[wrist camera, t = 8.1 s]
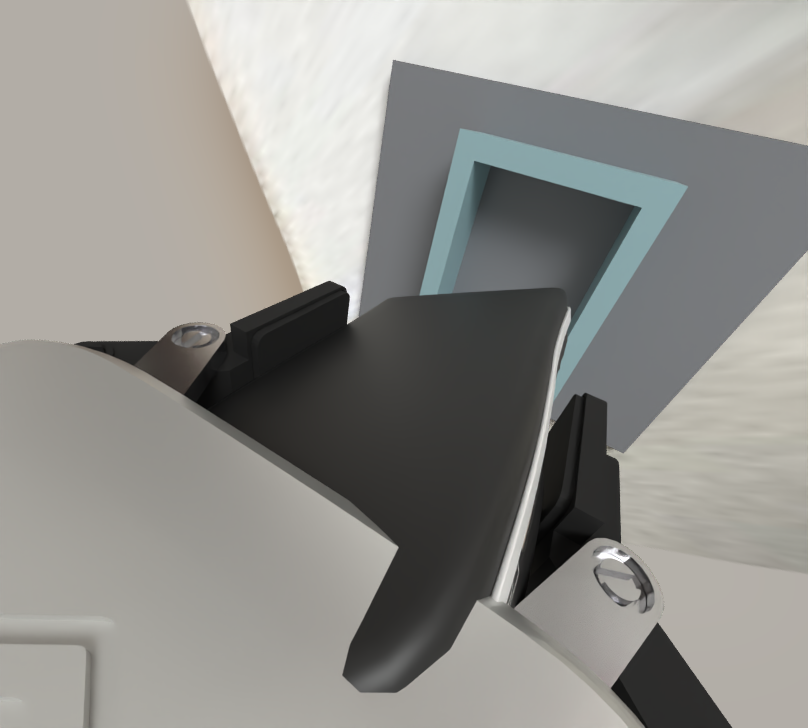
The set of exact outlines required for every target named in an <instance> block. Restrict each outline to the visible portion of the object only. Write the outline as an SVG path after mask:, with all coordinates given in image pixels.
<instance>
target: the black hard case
mask: <svg viewBox="0 0 808 728" xmlns="http://www.w3.org/2000/svg"><path fill="white" fill-rule="evenodd" d="M570 322H571V309H570V307H568V301H567V295H566V293H565V291H564V290H563V289H561V288H534V289H515V290H498V291H481V292H463V293H448V294H433V295H418V296H405V297H393V298H388V299H386V300H385V301H383V302H382V303H380V304H379V305H377V306H375V307H374V308H372V309H371V310H369V311H368V312H366V313H365V314H363V315H361V316H360V317H358V318H357V319H355V320H354V321H352V322H350V323H349V324H347V325H345V326H344V327H342V328H341V329H339V330H337V331H335V332H334V333H332V334H330V335H329V336H327V337H325V338H323V339H322V340H320V341H318V342H317V343H315V344H313V345H311V346H310V347H308V348H306V349H305V350H303V351H301V352H300V353H298V354H296V355H295V356H293V357H291V358H290V359H288V360H286V361H285V362H283V363H281V364H280V365H278V366H276V367H275V368H273V369H271V370H270V371H268V372H266V373H265V374H263V375H261V376H260V377H258V378H256V379H255V380H253V381H252V382H250V383H248V384H247V385H245V386H243V387H242V388H240V389H239V390H237V391H235V392H234V393H232V394H231V395H229V396H227V397H226V398H224V399H223V400H221V401H219V402H218V403H216V404H215V405H213V406H211V407H210V408H208V409H207V410H208V411H209V412H211V413H212V414H214V415H216V416H217V417H219V418H220V419H222V420H224V421H225V422H227V423H228V424H230V425H231V426H233V427H235V428H236V429H238V430H239V431H241V432H242V433H244V434H246V435H247V436H249V437H250V438H252V439H254V440H255V441H257V442H258V443H260V444H261V445H263V446H265V447H266V448H268V449H269V450H271V451H272V452H274V453H275V454H277V455H279V456H280V457H282V458H283V459H285V460H286V461H288V462H290V463H291V464H293V465H294V466H296V467H297V468H299V469H300V470H302V471H304V472H305V473H307V474H308V475H310V476H311V477H313V478H315V479H316V480H318V481H319V482H321V483H322V484H324V485H325V486H327V487H329V488H330V489H332V490H333V491H335V492H336V493H338V494H339V495H341V496H343V497H344V498H346V499H347V500H349V501H350V502H351V503H352V504H353V505H355V506H356V507H357V508H358V509H359V510H360V511H361V512H362V513H364V514H365V515H366V516H367V517H368V518H369V519H370V520H371V521H372V522H374V523H375V524H376V525H377V526H378V527H379V528H380V529H381V530H382V531H383V532H384V533H385V534H386V535H387V536H388V537H389V538H390V539H391V540H392V541H393V542H394V543H395V544H396V545H397V546H398V547H399V548H398V550H397V552H396V554H395V556H394V558H393V560H392V562H391V564H390V566H389V568H388V570H387V572H386V574H385V576H384V578H383V580H382V582H381V584H380V586H379V588H378V590H377V592H376V594H375V596H374V598H373V600H372V602H371V604H370V606H369V608H368V610H367V612H366V614H365V616H364V618H363V620H362V622H361V624H360V626H359V628H358V630H357V632H356V634H355V635H354V637H353V639H352V641H351V643H350V646H349V650H348V654H347V658H346V662H345V666H344V670H343V674H342V676H343V677H344V678H345V679H346V680H347V681H348V682H349V683H351V684H352V685H353V686H354V687H355V688H356V689H357V690H358V691H359V692H360V693H397V692H399V691H400V690H402V689H403V688H405V687H406V686H408V685H409V684H410V683H411V682H412V681H414V680H415V679H416V678H417V677H418V676H419V675H421V674H422V673H423V672H424V671H425V670H427V669H428V668H429V667H430V666H431V665H433V664H434V663H435V662H436V661H437V660H438V659H440V658H441V657H442V656H443V655H444V654H446V653H447V652H448V651H449V650H450V649H451V647H452V646H453V644H454V642H455V640H456V638H457V636H458V634H459V633H460V631H461V629H462V627H463V625H464V623H465V622H466V620H467V618H468V616H469V614H470V612H471V611H472V609H473V607H474V605H475V603H476V601H477V600H481V599H483V598H486V597H489V596H491V597H492V598H493V599H494V600H495V601H496V602H501V601H503V602H504V603H506V604H507V605H509V606H510V607H512V608H513V609H514V608H515V607H516V606H517V605H518V604H519V603H520V602H521V601H523V600H524V599H525V595H526V591H527V586H528V581H529V577H530V572H531V568H532V563H533V557H534V552H535V546H536V541H537V536H538V530H539V524H540V518H541V512H542V504H543V496H544V491H543V463H544V457H545V450H546V444H547V437H548V431H549V425H550V419H551V411H552V406H553V399H554V391H555V384H556V378H557V374H558V371H559V370H560V364H561V361H562V358H563V356H564V352H565V347H566V344H567V329H568V327H569V324H570Z"/></svg>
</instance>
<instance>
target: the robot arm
mask: <svg viewBox="0 0 808 728" xmlns="http://www.w3.org/2000/svg"><path fill="white" fill-rule="evenodd" d="M349 300H350V296H349V294H348V293H347V291H346V288H345V287H343V286H341V285H338V284H336V283H334V282H331V281H327V282H325V283H323V284H320V285H318V286H316V287H314V288H311V289H309V290H307V291H304V292H302V293H300V294H298V295H295V296H293V297H291V298H288V299H287V300H284V301H282V302H279V303H277V304H275V305H272V306H270V307H268V308H265V309H263V310H261V311H259V312H256V313H254V314H252V315H249V316H247V317H245V318H243V319H240V320H238V321H236V322H233V323H231V324H230V326H231V332H230V333H228V334H226V335H225V331H224V330H223V329H222V328H221V327H219V326H217V325H215V324H210V323H203V322H197V323H196V322H195V323H187V324H183V325H180V326H177V327H175V328H173V329H172V330H170V331H169V332H167V334H166V335H164V336H163V337H162V338H161V339H160V340H159V341H124V342H123V341H122V342H121V341H120V342H119V341H118V342H117V341H108V342H107V341H103V342H102V341H101V342H100V341H99V342H98V341H97V342H91V341H88V342H80V343H77V344H74V345H73V344H68V343H63V342H57V341H47V340H19V341H13V342H8V343H3V344H0V728H732V727H731V725H730V724H729V723H728V721H727V720H726V718H725V717H724V716H723V714H722V713H721V711H720V710H719V708H718V707H717V706H716V704H715V703H714V702H713V700H712V699H711V697H710V696H709V695H708V693H707V691H706V690H705V689H704V687H703V686H702V685H701V683H700V682H699V680H698V679H697V677H696V676H695V674H694V673H693V672H692V670H691V669H690V668H689V666H688V665H687V663H686V662H685V660H684V659H683V658H682V656H681V655H680V653H679V652H678V650H677V649H676V648H675V646H674V645H673V643H672V642H671V641H670V639H669V638H668V636H667V635H666V633H665V632H664V631H663V629H662V628H661V626H660V625H659V624H658V621H659V619H660V618H661V616H662V613H663V610H664V601H663V594H662V592H661V589H660V586H659V583H658V582H657V580H656V578H655V577H654V575H653V573H652V572H651V570H650V569H649V567H648V566H647V565H646V564H645V563H644V562H643V561H642V559H641V558H640V557H639V556H637V555H636V554H635V553H634V552H633V551H631V550H630V549H629V548H627V547H626V546H624V545H622V544H621V523H620V480H619V462H618V461H617V459H615V458H613V457H611V456H609V455H606V448H607V402H606V401H604V400H602V399H599V398H597V397H595V396H592V395H590V394H588V393H584V394H583V395H582V396H579V395H577V394H574V396H573V397H572V398H571V400H570V401H569V403H568V404H567V406H566V407H565V409H564V410H563V412H562V413H561V415H560V416H559V418H558V419H557V421H556V422H555V424H554V425H553V427H552V428H551V430H550V431H549V433H548V437H547V444H546V450H545V457H544V463H543V491H544V496H543V504H542V512H541V518H540V524H539V530H538V536H537V541H536V546H535V552H534V557H533V563H532V568H531V572H530V577H529V581H528V586H527V591H526V595H525V599H524V600H523V601H521V602H520V603H519V604H518V605H517V606H516V607H515V608H514V609H513V608H512V607H510V606H509V605H507V604H506V603H504V602H503V601H501V602H496V601H495V600H494V599H493V598H492V597H491V596H489V597H486V598H483V599H481V600H477V601H476V603H475V605H474V607H473V609H472V611H471V612H470V614H469V616H468V618H467V620H466V622H465V623H464V625H463V627H462V629H461V631H460V633H459V634H458V636H457V638H456V640H455V642H454V644H453V646H452V647H451V649H450V650H449V651H448V652H447V653H446V654H444V655H443V656H442V657H441V658H440V659H438V660H437V661H436V662H435V663H434V664H433V665H431V666H430V667H429V668H428V669H427V670H425V671H424V672H423V673H422V674H421V675H419V676H418V677H417V678H416V679H415V680H414V681H412V682H411V683H410V684H409V685H408V686H406V687H405V688H403V689H402V690H400V691H399V692H397V693H360V692H359V691H358V690H357V689H356V688H355V687H354V686H353V685H352V684H351V683H349V682H348V681H347V680H346V679H345V678H344V677H343V676H342V674H343V670H344V666H345V662H346V658H347V654H348V650H349V646H350V643H351V641H352V639H353V637H354V635H355V634H356V632H357V630H358V628H359V626H360V624H361V622H362V620H363V618H364V616H365V614H366V612H367V610H368V608H369V606H370V604H371V602H372V600H373V598H374V596H375V594H376V592H377V590H378V588H379V586H380V584H381V582H382V580H383V578H384V576H385V574H386V572H387V570H388V568H389V566H390V564H391V562H392V560H393V558H394V556H395V554H396V552H397V550H398V548H399V547H398V546H397V545H396V544H395V543H394V542H393V541H392V540H391V539H390V538H389V537H388V536H387V535H386V534H385V533H384V532H383V531H382V530H381V529H380V528H379V527H378V526H377V525H376V524H375V523H374V522H372V521H371V520H370V519H369V518H368V517H367V516H366V515H365V514H364V513H362V512H361V511H360V510H359V509H358V508H357V507H356V506H355V505H353V504H352V503H351V502H350V501H349V500H347V499H346V498H344V497H343V496H341V495H339V494H338V493H336V492H335V491H333V490H332V489H330V488H329V487H327V486H325V485H324V484H322V483H321V482H319V481H318V480H316V479H315V478H313V477H311V476H310V475H308V474H307V473H305V472H304V471H302V470H300V469H299V468H297V467H296V466H294V465H293V464H291V463H290V462H288V461H286V460H285V459H283V458H282V457H280V456H279V455H277V454H275V453H274V452H272V451H271V450H269V449H268V448H266V447H265V446H263V445H261V444H260V443H258V442H257V441H255V440H254V439H252V438H250V437H249V436H247V435H246V434H244V433H242V432H241V431H239V430H238V429H236V428H235V427H233V426H231V425H230V424H228V423H227V422H225V421H224V420H222V419H220V418H219V417H217V416H216V415H214V414H212V413H211V412H209V411H208V410H207V409H208V408H210V407H211V406H213V405H215V404H216V403H218V402H219V401H221V400H223V399H224V398H226V397H227V396H229V395H231V394H232V393H234V392H235V391H237V390H239V389H240V388H242V387H243V386H245V385H247V384H248V383H250V382H252V381H253V380H255V379H256V378H258V377H260V376H261V375H263V374H265V373H266V372H268V371H270V370H271V369H273V368H275V367H276V366H278V365H280V364H281V363H283V362H285V361H286V360H288V359H290V358H291V357H293V356H295V355H296V354H298V353H300V352H301V351H303V350H305V349H306V348H308V347H310V346H311V345H313V344H315V343H317V342H318V341H320V340H322V339H323V338H325V337H327V336H329V335H330V334H332V333H334V332H335V331H337V330H339V329H341V328H342V327H344V326H345V325H347V317H348V308H349Z"/></svg>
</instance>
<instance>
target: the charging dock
mask: <svg viewBox="0 0 808 728" xmlns="http://www.w3.org/2000/svg"><path fill="white" fill-rule="evenodd" d="M807 250H808V146H806V145H801V144H797V143H792V142H787V141H782V140H777V139H772V138H768V137H763V136H758V135H753V134H748V133H743V132H739V131H734V130H729V129H724V128H719V127H714V126H710V125H705V124H700V123H695V122H690V121H685V120H681V119H676V118H671V117H666V116H661V115H656V114H652V113H647V112H642V111H637V110H632V109H628V108H623V107H618V106H613V105H608V104H603V103H599V102H594V101H589V100H584V99H579V98H574V97H570V96H565V95H560V94H555V93H550V92H545V91H541V90H536V89H531V88H526V87H521V86H516V85H512V84H507V83H502V82H497V81H492V80H487V79H483V78H478V77H473V76H468V75H463V74H459V73H454V72H449V71H444V70H439V69H434V68H430V67H425V66H420V65H415V64H410V63H405V62H401V61H396V60H393V65H392V72H391V80H390V87H389V95H388V102H387V110H386V117H385V125H384V132H383V140H382V147H381V155H380V162H379V170H378V177H377V185H376V192H375V200H374V207H373V215H372V222H371V230H370V237H369V245H368V252H367V260H366V267H365V275H364V282H363V290H362V297H361V305H360V312H359V317H360V316H361V315H363V314H365V313H366V312H368V311H369V310H371V309H372V308H374V307H375V306H377V305H379V304H380V303H382V302H383V301H385V300H386V299H388V298H393V297H405V296H418V295H433V294H448V293H463V292H481V291H498V290H515V289H534V288H561V289H563V290H564V291H565V293H566V295H567V301H568V307H570V309H571V322H570V324H569V327H568V329H567V344H566V347H565V352H564V356H563V358H562V361H561V364H560V370H559V371H558V374H557V378H556V384H555V391H554V399H553V406H552V411H551V419H552V420H554V421H557V419H558V418H559V416H560V415H561V413H562V412H563V410H564V409H565V407H566V406H567V404H568V403H569V401H570V400H571V398H572V397H573V396H574V394H577V395H579V396H582V395H583V394H584V393H588V394H590V395H592V396H595V397H597V398H599V399H602V400H604V401H606V402H607V446H609V447H611V448H613V449H615V450H618V451H620V452H622V453H624V452H625V451H626V450H627V449H628V448H629V447H630V446H631V444H632V443H633V442H634V441H635V440H636V439H637V438H638V437H639V436H640V434H641V433H642V432H643V431H644V430H645V429H646V428H647V427H648V426H649V425H650V423H651V422H652V421H653V420H654V419H655V418H656V417H657V416H658V415H659V414H660V412H661V411H662V410H663V409H664V408H665V407H666V406H667V405H668V404H669V403H670V401H671V400H672V399H673V398H674V397H675V396H676V395H677V394H678V393H679V392H680V390H681V389H682V388H683V387H684V386H685V385H686V384H687V383H688V382H689V380H690V379H691V378H692V377H693V376H694V375H695V374H696V373H697V372H698V371H699V369H700V368H701V367H702V366H703V365H704V364H705V363H706V362H707V361H708V360H709V358H710V357H711V356H712V355H713V354H714V353H715V352H716V351H717V350H718V349H719V347H720V346H721V345H722V344H723V343H724V342H725V341H726V340H727V339H728V337H729V336H730V335H731V334H732V333H733V332H734V331H735V330H736V329H737V328H738V326H739V325H740V324H741V323H742V322H743V321H744V320H745V319H746V318H747V317H748V315H749V314H750V313H751V312H752V311H753V310H754V309H755V308H756V307H757V306H758V304H759V303H760V302H761V301H762V300H763V299H764V298H765V297H766V296H767V295H768V293H769V292H770V291H771V290H772V289H773V288H774V287H775V286H776V285H777V283H778V282H779V281H780V280H781V279H782V278H783V277H784V276H785V275H786V274H787V272H788V271H789V270H790V269H791V268H792V267H793V266H794V265H795V264H796V263H797V261H798V260H799V259H800V258H801V257H802V256H803V255H804V254H805V253H806V252H807Z"/></svg>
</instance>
